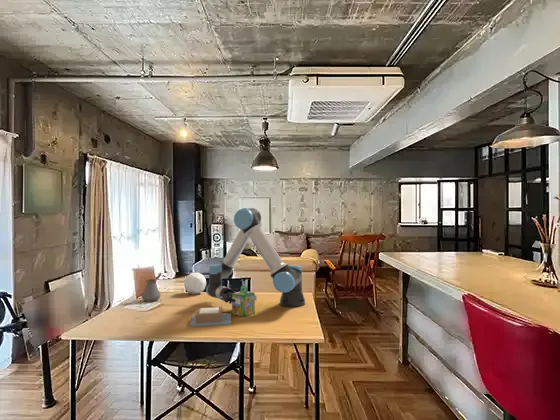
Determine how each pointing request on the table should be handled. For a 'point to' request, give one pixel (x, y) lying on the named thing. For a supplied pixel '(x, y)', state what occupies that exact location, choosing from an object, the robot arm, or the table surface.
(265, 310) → the table surface
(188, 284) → the geometric shape
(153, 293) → the coffee pot
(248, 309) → the chalk box
